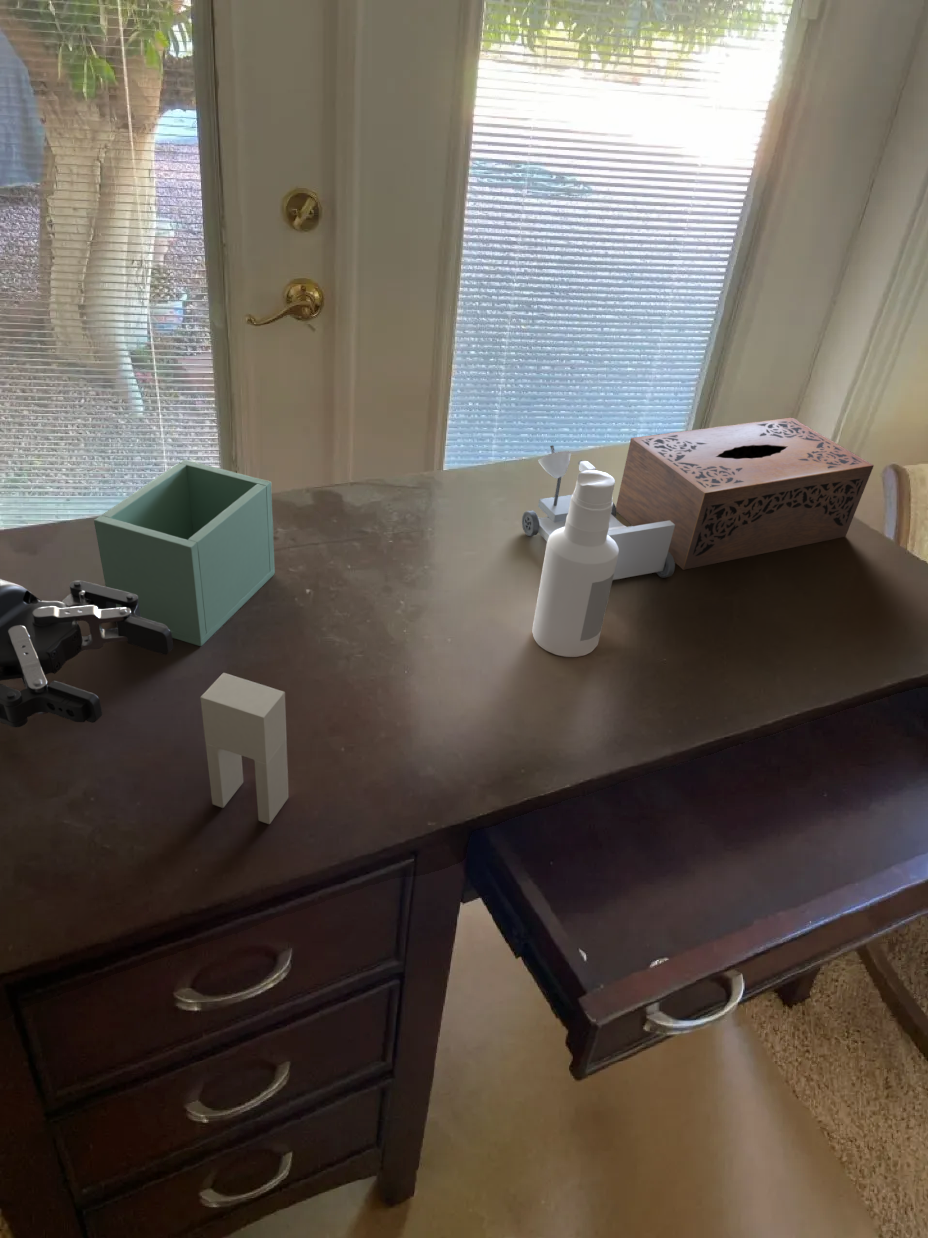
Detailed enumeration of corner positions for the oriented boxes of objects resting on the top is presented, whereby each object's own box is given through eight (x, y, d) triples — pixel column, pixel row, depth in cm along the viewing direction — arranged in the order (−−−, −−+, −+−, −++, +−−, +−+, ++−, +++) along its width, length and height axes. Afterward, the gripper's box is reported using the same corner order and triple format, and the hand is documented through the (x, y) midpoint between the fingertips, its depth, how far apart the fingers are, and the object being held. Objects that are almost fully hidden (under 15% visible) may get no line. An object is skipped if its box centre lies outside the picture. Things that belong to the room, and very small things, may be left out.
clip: (288, 797, 70) (285, 691, 63) (269, 825, 67) (263, 717, 61) (232, 778, 71) (223, 672, 64) (212, 804, 68) (199, 697, 62)
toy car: (520, 444, 103) (605, 434, 108) (510, 517, 109) (591, 506, 113) (600, 519, 90) (692, 505, 95) (584, 598, 96) (671, 581, 100)
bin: (201, 647, 84) (190, 547, 77) (110, 618, 86) (93, 519, 79) (275, 574, 95) (271, 481, 88) (193, 550, 97) (183, 458, 90)
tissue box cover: (769, 484, 123) (791, 417, 117) (845, 536, 113) (873, 465, 107) (615, 510, 113) (631, 437, 107) (683, 569, 103) (705, 493, 97)
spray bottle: (608, 655, 88) (646, 495, 78) (543, 661, 87) (573, 498, 76) (584, 615, 94) (617, 460, 83) (523, 620, 92) (548, 462, 81)
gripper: (-137, 627, 61) (61, 693, 58) (12, 532, 72) (186, 583, 69) (-106, 708, 66) (80, 774, 62) (31, 607, 77) (195, 659, 73)
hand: (135, 674), depth 65 cm, fingers open, 8 cm apart
